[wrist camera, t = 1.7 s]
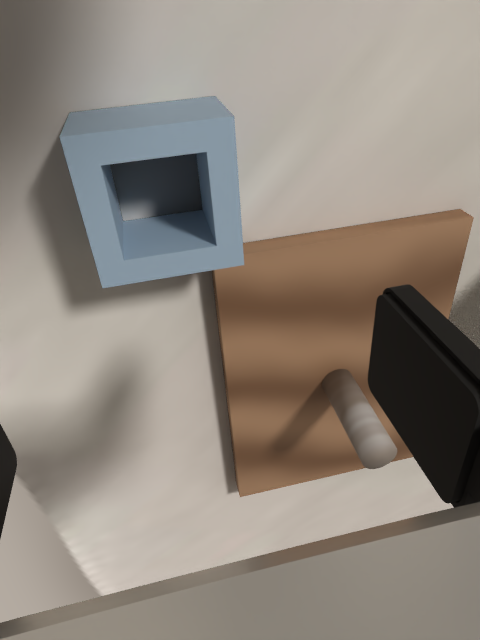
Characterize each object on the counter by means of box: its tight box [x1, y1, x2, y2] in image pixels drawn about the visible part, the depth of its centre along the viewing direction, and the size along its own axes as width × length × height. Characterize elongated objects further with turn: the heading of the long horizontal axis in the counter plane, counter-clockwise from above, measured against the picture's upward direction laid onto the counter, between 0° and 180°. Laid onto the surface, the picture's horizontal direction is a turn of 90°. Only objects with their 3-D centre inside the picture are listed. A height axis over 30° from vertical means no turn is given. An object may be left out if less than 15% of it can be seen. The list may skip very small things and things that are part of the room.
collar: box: [60, 96, 244, 288], centre depth 19 cm, size 6×6×4 cm
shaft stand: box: [212, 209, 474, 497], centre depth 27 cm, size 20×14×7 cm
